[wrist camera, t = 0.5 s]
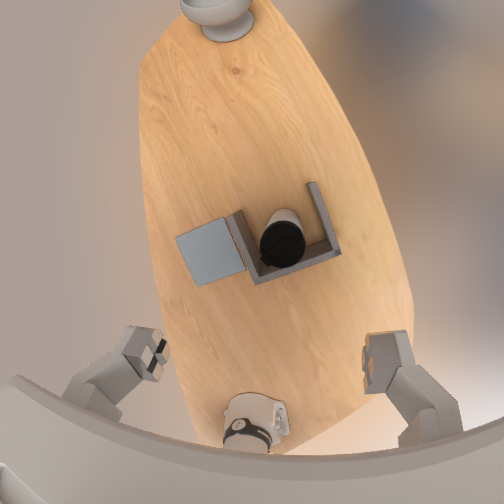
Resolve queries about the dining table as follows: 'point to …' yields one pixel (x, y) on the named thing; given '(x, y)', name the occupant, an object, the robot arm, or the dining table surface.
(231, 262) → the mat
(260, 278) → the grey u-shaped channel
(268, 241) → the travel mug
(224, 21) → the chalice
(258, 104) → the dining table surface
